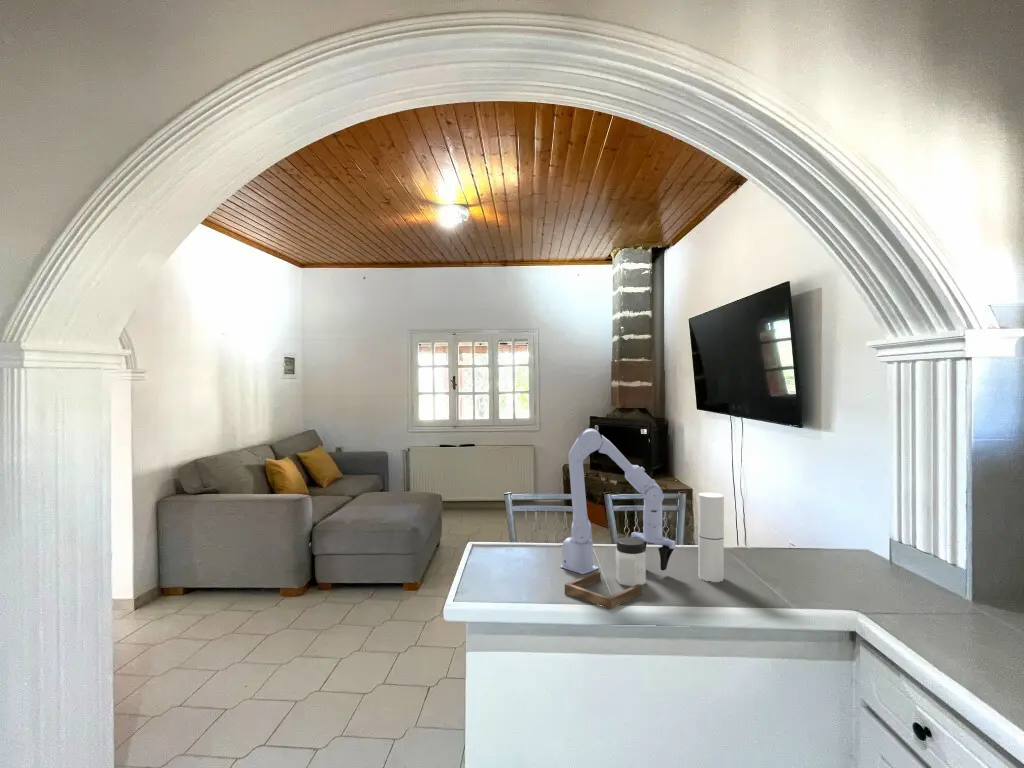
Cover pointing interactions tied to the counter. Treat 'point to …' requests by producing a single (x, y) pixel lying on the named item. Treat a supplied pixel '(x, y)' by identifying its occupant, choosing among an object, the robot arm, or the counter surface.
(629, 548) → the jar
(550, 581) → the counter surface
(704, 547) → the cylindrical container
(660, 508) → the robot arm
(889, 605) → the counter surface
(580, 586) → the bay
